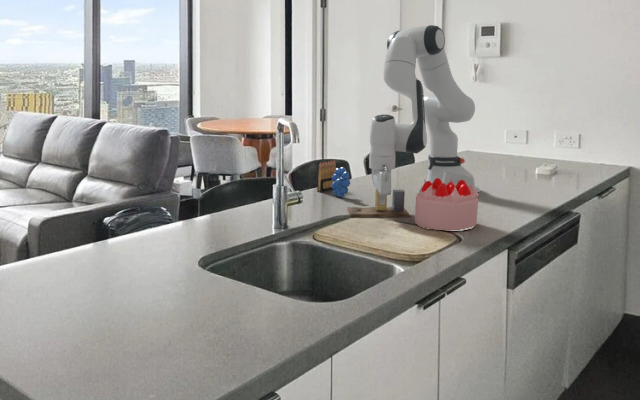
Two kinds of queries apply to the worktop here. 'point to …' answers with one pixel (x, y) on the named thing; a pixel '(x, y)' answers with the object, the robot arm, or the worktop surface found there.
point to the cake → (446, 205)
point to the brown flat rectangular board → (375, 212)
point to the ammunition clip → (326, 176)
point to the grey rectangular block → (398, 200)
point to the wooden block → (377, 204)
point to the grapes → (340, 182)
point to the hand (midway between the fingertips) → (381, 202)
